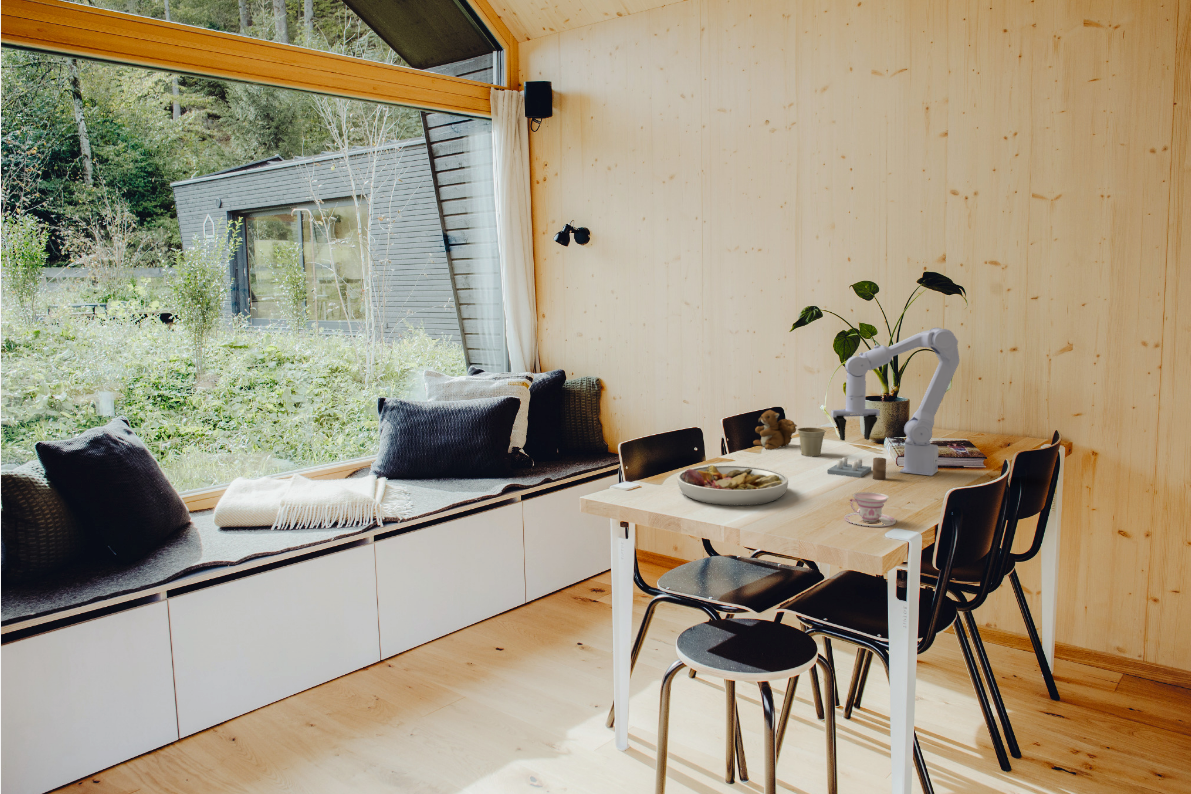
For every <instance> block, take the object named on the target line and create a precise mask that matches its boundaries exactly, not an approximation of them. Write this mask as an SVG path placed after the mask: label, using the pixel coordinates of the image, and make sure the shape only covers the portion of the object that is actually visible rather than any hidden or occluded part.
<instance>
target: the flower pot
mask: <svg viewBox="0 0 1191 794" xmlns="http://www.w3.org/2000/svg"><path fill="white" fill-rule="evenodd" d="M826 431H827V430H826V429H825V428H820V427H811V426H810V427H799V428H796V432H798V436H799V443H800V445H799V446H800V452H801V453H800V454H801V455H803V456H804V457H811V456H812V457H819V456H821V452H822V446H823V442H824V441H823V440H824V437H825V433H826Z"/></svg>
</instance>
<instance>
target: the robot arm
mask: <svg viewBox="0 0 1191 794" xmlns="http://www.w3.org/2000/svg"><path fill="white" fill-rule="evenodd" d="M958 343H959V340H958V339H957V337H956V335H955V334H954V332H952V330H950V329H947V328H941V327H932V328H931V329H929V330H927V329H926V330H923V331H920V332H918V333H916V334H913V335H911V336H909V337H907V338H904V339H902V340H899V341H898V342H896V343H894V344H892V345H890V346H885V345H883V344H881V345H879V344H875V345H874V346H873V348H872V349H870V350H867V351H865V352H862V351H861V352H859V353H858V356H857V355H853V356H850V357H849V358H848V359H847V360H846V362H845V364H844V369H845V371H846V382H845V383H846V385H845V409H844V408H842V409H831V410H830V417H831V418H833V421H834V423H835V425H836V428H837V431H838V435H839V440H841V441H845V440H846V426H847V422H848V421H847V419H846V418H845V417H863V424H864V425H863V426H864V431H863V432H864V433H863V434H864V435H863V436H864V438H863V439H864V440H866V441H867V440H870V437H871V433H872V431H873V429H874V426H875V425H876V423H877V421H878V417H880V411H881V410H880V409H879V408H866V397H867V396H866V395H867V392H866V389H867V381H866V374H867V373H868V371H872V370H875V369H878V368H880V367H882V366H884V365H887V364H890V363H891V361H892V359H893V357H895V356H897V355H900V354H903V353H907V352H908V351H911V350H914V349H916V348H930V349H931V350H932V351H933V352H935V355H936V357H937V359H938V361H939V362H938V364H937V366H936V369H935V371H934V373H933V376H932V378H931V380H930V382H929V384H928V386H927V389H926V391H925V393H924V395H923V397H922V399H921V402H920V404H919V407H918V408H917V410H916V411H915V412H913V414H912V417H911V418H910V419H909V420H908V421H907V422H906V423H905V425H904V426H903V427H904V428H903V432H904V434H905V435H906V439H905V440H904V458H903V468H902V469H900V470H899V472H900V473H906V474H914V475H924V476H930V477H933V475H935V474H936V473H937V472H938V471H939V469H938V468H939V467H938V466H939V446H938V444H932V443H931V440H932V437H933V428H934V425H935V416H936V413H937V412H938V409H939V407H940V406H941V403H942V401H943V399H944V396H945V395H946V393H947V390H948V388H949V385H950V383H951V381H952V379H953V377H954V375H955V373H956V370H957V368H958V366H959V364H960V356H959V355H960V354H959V349H958Z"/></svg>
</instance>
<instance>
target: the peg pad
mask: <svg viewBox="0 0 1191 794" xmlns="http://www.w3.org/2000/svg"><path fill="white" fill-rule="evenodd" d="M836 462H837V463H836V464H835V465H834V466H832V467H830V468H828V469H827V473H828V475H835V474H836V475H837V476H843V475H846V476H845V477H852V476H853V477H854V478H860V477H861V478H862V477H864V476H865V475H867V474H869V473H870V472H872V466H869V465H867V466H866V465H863V459H862V458H857V459H856V461H852V462H851V463H852V464H849V463H848V457H842V458H841V459H839V460H837V461H836ZM853 477H852V478H853Z"/></svg>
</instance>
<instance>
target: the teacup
mask: <svg viewBox="0 0 1191 794" xmlns="http://www.w3.org/2000/svg"><path fill="white" fill-rule="evenodd" d="M852 497H853V498H854V499H853V498H851V499H849V504H850V507H851V509H852V510H853V512H851V513H847V514H845V515H844V517H843V519H844V521H846V522H847V521H848V522H847V523H849V522H850V523H849V524H852V523H853V525H856V524H857V526H861V525H862V527H868V526H869V527H870V528H883V527H890V526H893V525H895V524H896V522H897V520H896V519H895V517H893V516H891V515H888V514H884V513H883V512H882V510H883V509H882V508H883V507H884V505H885V503H886V502H887V501H888V499H889V498H890V497H889V495H888V494H884V493H881V492H873V491H871V492H869V491H865V492H862V491H861V492H856V493H853V494H852ZM854 502H855V503H856V504H857V506H858V509H857V510H856V508H855V507H854V505H853V503H854ZM852 515H859V516H861V517H862V518H861V519H862V521H863V520H864V521H863V522H866V521H869V522H868V523H876V522H879V523H880V521H881V522H882V523H883V524H882V525H864V524H859V523H854V522H851V521H850V520H849V519H848V517H850V516H852ZM878 519H879V521H878ZM875 521H876V522H875ZM884 524H885V525H884Z"/></svg>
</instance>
